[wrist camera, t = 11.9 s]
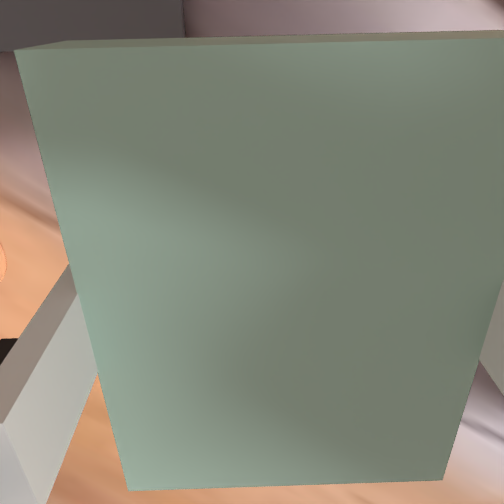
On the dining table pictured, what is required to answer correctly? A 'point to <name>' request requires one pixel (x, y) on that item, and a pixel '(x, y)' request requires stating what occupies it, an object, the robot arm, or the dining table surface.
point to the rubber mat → (87, 21)
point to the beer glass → (2, 263)
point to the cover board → (279, 245)
